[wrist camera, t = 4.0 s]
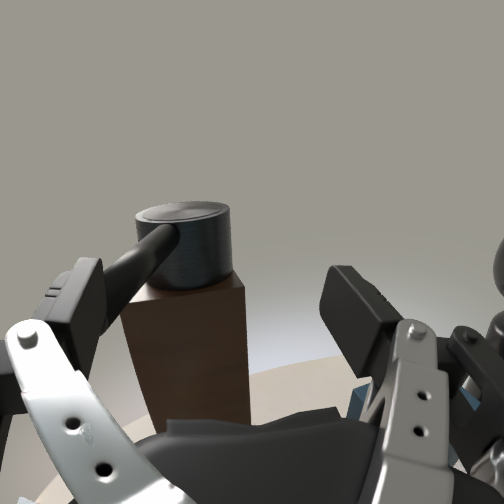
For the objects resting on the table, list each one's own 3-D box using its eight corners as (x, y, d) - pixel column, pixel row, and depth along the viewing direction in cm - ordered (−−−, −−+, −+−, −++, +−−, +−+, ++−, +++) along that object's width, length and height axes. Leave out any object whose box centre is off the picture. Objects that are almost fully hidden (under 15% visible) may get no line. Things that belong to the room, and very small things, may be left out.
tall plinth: (172, 442, 42) (125, 259, 32) (235, 431, 44) (219, 247, 34) (182, 494, 33) (117, 304, 22) (254, 480, 35) (244, 286, 25)
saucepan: (160, 255, 32) (154, 202, 31) (237, 255, 32) (235, 199, 30) (46, 390, 13) (8, 297, 11) (185, 418, 13) (162, 312, 11)
